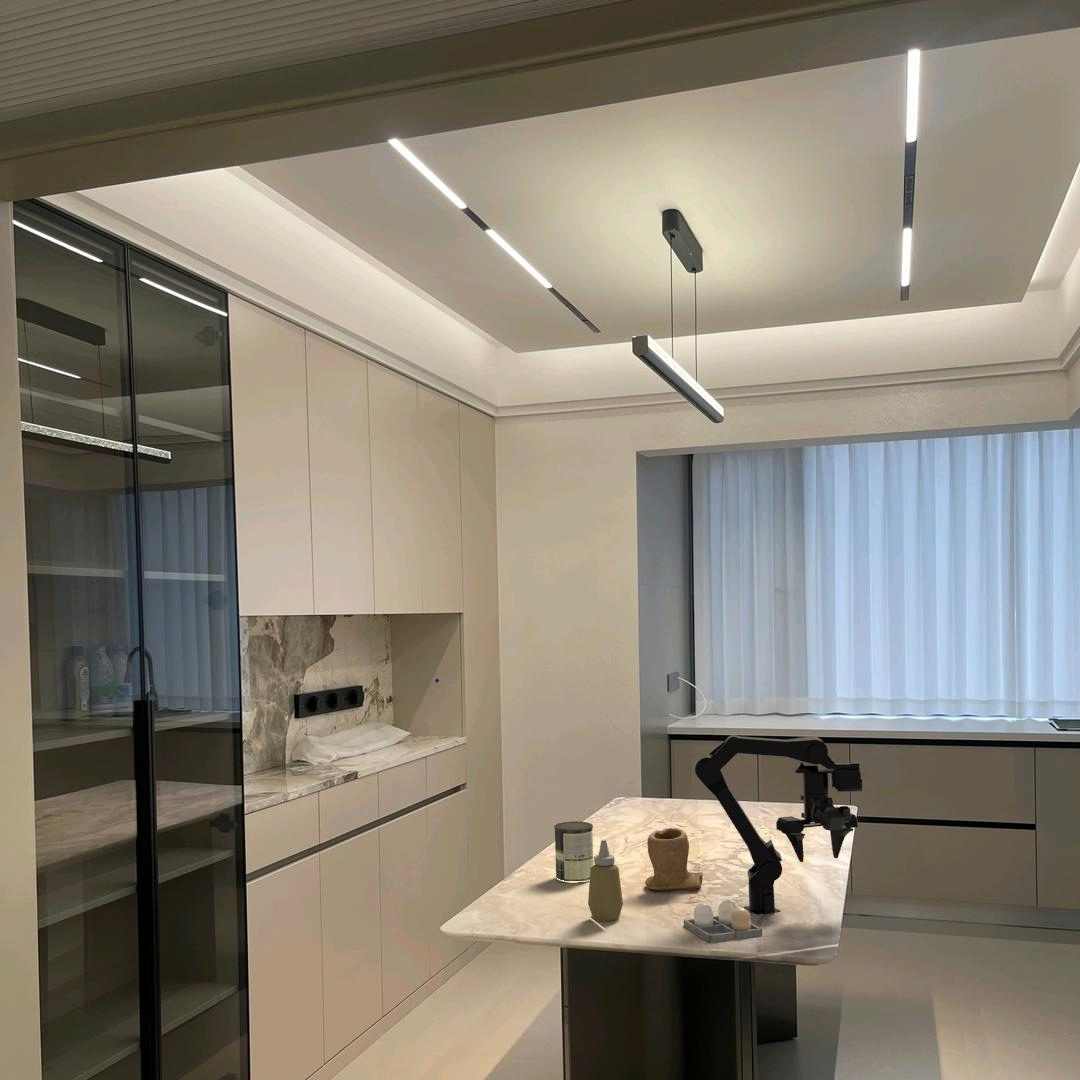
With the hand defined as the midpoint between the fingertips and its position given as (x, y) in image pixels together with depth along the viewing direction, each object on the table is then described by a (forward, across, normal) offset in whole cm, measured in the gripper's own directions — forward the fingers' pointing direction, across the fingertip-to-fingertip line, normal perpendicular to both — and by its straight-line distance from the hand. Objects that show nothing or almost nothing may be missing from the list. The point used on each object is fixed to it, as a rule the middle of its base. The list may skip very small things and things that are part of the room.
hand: (818, 860), depth 248 cm
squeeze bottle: (+12, -48, +14) cm, 51 cm away
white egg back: (+12, -31, -2) cm, 33 cm away
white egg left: (+12, -25, -2) cm, 28 cm away
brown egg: (+12, -25, -8) cm, 29 cm away
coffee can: (+12, -42, +52) cm, 68 cm away
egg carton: (+12, -28, -5) cm, 31 cm away
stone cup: (+12, -22, +32) cm, 41 cm away
